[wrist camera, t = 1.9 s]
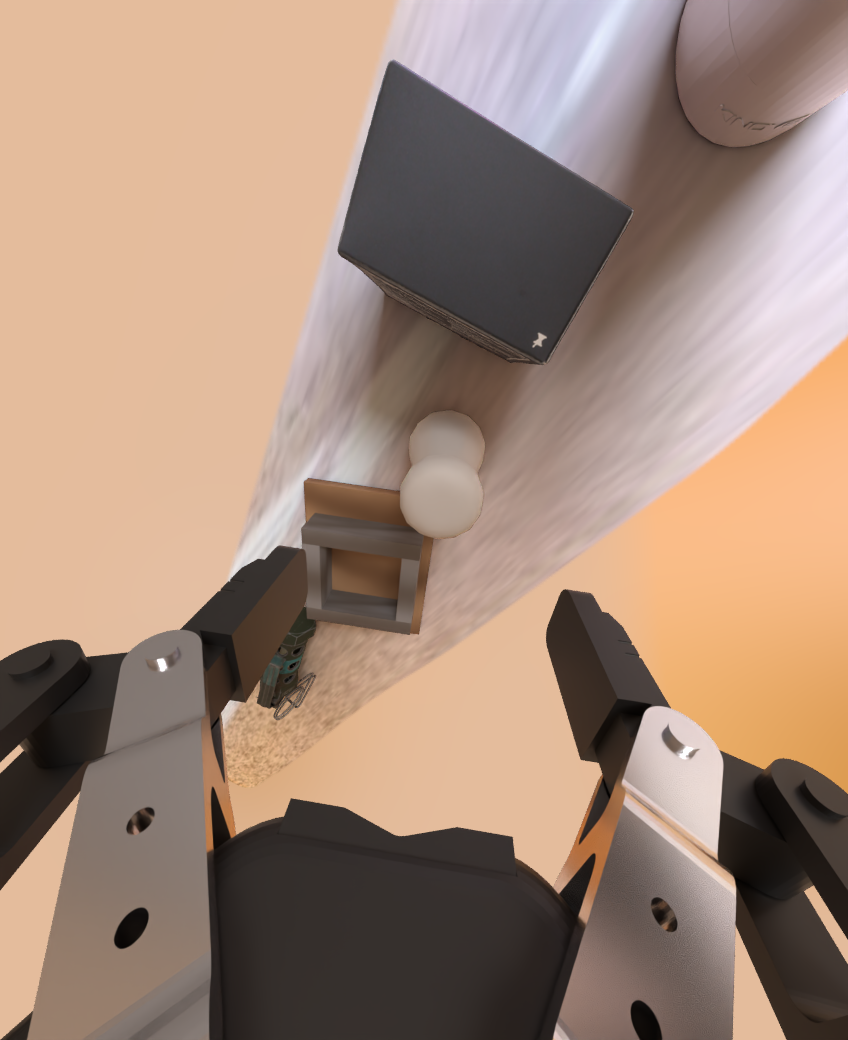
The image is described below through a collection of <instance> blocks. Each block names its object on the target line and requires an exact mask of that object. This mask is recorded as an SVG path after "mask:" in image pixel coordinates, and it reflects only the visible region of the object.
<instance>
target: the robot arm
mask: <svg viewBox="0 0 848 1040" xmlns="http://www.w3.org/2000/svg"><path fill="white" fill-rule="evenodd" d="M676 82H677V88H678V94H679V100H680V102H681V105H682V107H683V110H684V112H685V115H686V117H687V119H688V120H689V122H690V123H691V124H692V125H693V127H694V128H695V129H696V131H697V132H698V133H699V134H701V135H702V136H704V137H705V138H707V139H708V140H710V141H711V142H713V143H716V144H720V145H724V146H727V147H743V146H751V145H754V144H758V143H761V142H765V141H768V140H770V139H772V138H774V137H776V136H778V135H780V134H782V133H784V132H786V131H788V130H789V129H791V128H792V127H794V126H795V125H797V124H798V123H800V122H801V121H803V120H804V119H806V118H807V117H809V116H810V115H812V114H813V113H815V112H816V111H818V110H819V109H821V108H822V107H824V106H825V105H827V104H828V103H830V102H831V101H833V100H834V99H836V98H837V97H839V96H840V95H842V94H843V93H845V92H846V91H848V0H687V2H686V6H685V9H684V12H683V15H682V19H681V23H680V29H679V35H678V41H677V47H676ZM307 594H308V578H307V561H306V552H305V550H304V549H299V548H293V547H286V546H277V547H276V548H275V549H274V550H273V551H272V552H271V554H270V555H269V556H268V557H267V558H266V559H265V560H263V559H257V560H255V561H254V562H252V563H250V564H248V565H246V566H244V567H242V568H241V569H240V570H239V571H238V572H237V573H236V574H235V575H234V576H233V577H232V578H231V580H230V582H229V581H228V582H227V583H226V584H225V585H224V586H223V587H222V589H221V591H219V592H217V593H216V594H215V595H214V596H213V597H212V598H211V599H210V600H209V601H208V602H207V603H206V604H205V605H204V606H203V607H202V608H201V609H200V610H199V611H198V612H197V613H196V614H195V615H194V616H193V617H192V618H191V619H190V620H189V621H188V622H187V623H186V624H185V625H184V626H183V627H182V628H181V629H180V630H172V631H167V632H163V633H160V634H157V635H154V636H152V637H150V638H148V639H146V640H144V641H143V642H141V643H139V644H138V645H137V646H135V647H134V648H133V649H132V650H131V651H130V652H128V653H120V654H110V655H100V656H91V657H86V656H85V654H84V653H83V650H82V649H81V647H80V645H79V644H78V643H76V642H74V641H71V640H52V641H46V642H42V643H38V644H35V645H32V646H29V647H27V648H24V649H22V650H19V651H17V652H15V653H13V654H11V655H9V656H8V657H6V658H4V659H3V660H1V661H0V762H1V761H2V760H3V759H4V758H5V757H6V756H7V755H8V754H9V753H10V752H12V750H14V749H15V748H16V747H17V746H18V745H20V746H21V747H22V748H23V750H24V751H23V752H22V753H21V754H20V755H19V756H18V757H17V758H16V759H15V760H14V761H13V762H12V763H11V764H10V765H9V766H8V767H7V768H6V769H5V770H3V772H1V773H0V890H1V889H2V888H3V886H4V885H5V884H6V883H7V881H8V880H9V879H10V878H11V877H12V875H13V874H14V873H15V872H16V870H17V869H18V868H19V866H20V865H21V864H22V863H23V862H24V860H25V859H26V858H27V857H28V855H29V854H30V853H31V852H32V850H33V849H34V848H35V847H36V845H37V844H38V843H39V842H40V840H41V839H42V838H43V837H44V835H45V834H46V833H47V832H48V830H49V829H50V828H51V827H52V825H53V824H54V823H55V822H56V821H57V819H58V818H59V817H60V815H61V814H62V813H63V812H64V811H65V809H66V808H67V807H68V806H69V804H70V803H71V802H72V801H73V799H74V798H75V797H76V796H77V794H78V793H79V792H80V796H79V800H78V805H77V810H76V814H75V819H74V824H73V829H72V833H71V838H70V842H69V847H68V852H67V856H66V862H65V865H64V870H63V875H62V879H61V884H60V889H59V894H58V898H57V903H56V907H55V912H54V917H53V921H52V926H51V931H50V935H49V940H48V945H47V949H46V954H45V958H44V963H43V968H42V973H41V977H40V982H39V986H38V991H37V996H36V1001H35V1005H34V1010H33V1011H32V1012H31V1013H30V1014H29V1015H28V1016H27V1017H26V1018H24V1019H23V1020H22V1021H21V1022H20V1023H19V1024H18V1025H17V1026H15V1027H14V1028H13V1029H12V1030H11V1031H10V1032H9V1033H8V1034H6V1035H5V1036H4V1037H3V1038H2V1039H1V1040H732V1037H733V1000H734V999H733V998H734V961H735V960H734V959H735V958H734V957H735V925H736V927H737V929H738V931H739V934H740V936H741V938H742V940H743V943H744V945H745V947H746V949H747V952H748V954H749V956H750V958H751V961H752V963H753V965H754V967H755V970H756V972H757V974H758V976H759V979H760V981H761V983H762V985H763V988H764V990H765V992H766V994H767V997H768V999H769V1001H770V1003H771V1006H772V1008H773V1010H774V1012H775V1015H776V1017H777V1019H778V1021H779V1024H780V1026H781V1028H782V1030H783V1033H784V1035H785V1037H786V1039H787V1040H848V964H847V962H846V961H845V959H844V957H843V956H842V954H841V952H840V951H839V949H838V947H837V946H836V944H835V943H834V941H833V939H832V937H831V936H830V934H829V932H828V931H827V929H826V927H825V926H824V924H823V922H822V921H821V919H820V917H819V916H818V914H817V913H816V911H815V909H814V907H813V906H812V904H811V902H810V901H809V899H808V897H807V896H806V894H805V892H804V891H805V890H806V889H808V888H810V887H811V886H813V885H814V886H815V888H816V890H817V891H818V893H819V894H820V896H821V898H822V899H823V901H824V902H825V904H826V906H827V907H828V909H829V910H830V912H831V914H832V915H833V917H834V918H835V920H836V922H837V923H838V925H839V926H840V928H841V929H842V931H843V933H844V934H845V936H846V938H847V939H848V794H847V793H846V792H845V791H844V790H842V789H841V788H840V787H839V786H838V785H836V784H835V783H834V782H832V781H831V780H830V779H828V778H827V777H825V776H824V775H823V774H821V773H819V772H818V771H816V770H814V769H813V768H811V767H809V766H807V765H805V764H802V763H800V762H797V761H794V760H791V759H784V758H783V759H777V760H775V761H774V762H773V763H771V764H770V765H769V766H768V767H767V768H766V769H765V770H764V769H761V768H759V767H756V766H754V765H752V764H750V763H747V762H745V761H743V760H741V759H738V758H736V757H734V756H731V755H729V754H727V753H724V752H722V751H720V750H719V749H718V747H717V746H716V744H715V742H714V741H713V740H712V739H711V737H710V736H709V735H708V734H707V733H706V732H705V731H704V730H703V729H702V728H701V727H700V726H699V725H698V724H697V723H695V722H694V721H693V720H691V719H690V718H688V717H687V716H685V715H683V714H682V713H680V712H678V711H675V710H673V709H671V707H670V706H669V704H668V702H667V701H666V699H665V697H664V696H663V694H662V692H661V691H660V689H659V687H658V686H657V684H656V682H655V680H654V679H653V677H652V675H651V674H650V672H649V670H648V669H647V667H646V665H645V664H644V662H643V660H642V659H641V658H639V654H638V652H637V650H636V649H635V647H634V645H632V642H631V640H630V638H629V637H628V635H627V633H626V632H625V630H624V628H623V627H622V626H621V625H620V624H619V623H618V622H617V621H616V620H615V619H614V618H613V617H612V616H611V615H610V614H609V613H605V612H602V611H601V609H600V607H599V605H598V604H597V602H596V600H595V598H594V596H593V595H592V594H591V593H585V592H579V591H572V590H566V589H565V590H563V591H562V592H561V594H560V596H559V598H558V601H557V604H556V606H555V609H554V611H553V614H552V617H551V619H550V622H549V624H548V627H547V632H546V643H547V648H548V652H549V655H550V658H551V662H552V665H553V668H554V672H555V675H556V678H557V682H558V685H559V689H560V692H561V695H562V699H563V702H564V705H565V708H566V712H567V715H568V719H569V722H570V725H571V729H572V732H573V736H574V739H575V742H576V746H577V749H578V752H579V756H580V759H581V760H585V761H591V762H597V763H599V765H600V768H601V770H602V776H601V777H600V779H599V780H598V783H597V786H596V788H595V790H594V793H593V796H592V798H591V801H590V804H589V806H588V809H587V811H586V814H585V817H584V819H583V822H582V824H581V827H580V830H579V832H578V835H577V837H576V840H575V842H574V845H573V848H572V850H571V852H570V854H569V857H568V859H567V861H566V862H565V864H564V866H563V868H562V870H561V872H560V874H559V876H558V878H557V880H556V882H555V884H554V887H552V886H551V885H550V884H549V883H548V882H547V881H546V880H545V879H544V878H543V877H541V876H540V875H539V874H538V873H537V872H536V871H534V870H533V869H532V868H530V867H529V866H528V865H526V864H524V863H523V862H522V861H520V860H518V859H516V858H515V856H514V846H513V837H510V836H504V835H499V834H492V833H487V832H481V831H475V830H469V829H464V828H458V827H456V828H450V829H445V830H439V831H433V832H427V833H421V834H415V835H409V836H396V835H393V834H391V833H390V832H388V831H386V830H384V829H382V828H380V827H379V826H377V825H375V824H373V823H371V822H369V821H368V820H366V819H364V818H362V817H361V816H359V815H357V814H355V813H353V812H352V811H350V810H348V809H346V808H343V807H338V806H332V805H326V804H320V803H314V802H309V801H303V800H297V799H291V800H290V803H289V805H288V808H287V811H286V813H285V816H284V817H279V818H275V819H271V820H268V821H265V822H262V823H259V824H257V825H255V826H253V827H250V828H248V829H246V830H244V831H243V832H241V833H239V834H237V835H236V831H235V824H234V817H233V811H232V806H231V801H230V794H229V786H228V776H227V766H226V755H225V745H224V734H223V724H222V716H221V712H222V711H223V709H224V708H225V706H226V705H227V703H228V702H229V700H233V701H239V702H245V703H246V701H247V700H248V698H249V696H250V695H251V693H252V691H253V690H254V688H255V686H256V685H257V683H258V681H259V680H260V678H261V676H262V675H263V673H264V672H265V670H266V668H267V667H268V665H269V663H270V662H271V660H272V658H273V657H274V655H275V653H276V652H277V650H278V648H279V647H280V645H281V643H282V642H283V640H284V639H285V637H286V635H287V634H288V632H289V630H290V629H291V627H292V625H293V624H294V622H295V620H296V619H297V617H298V615H299V614H300V612H301V610H302V609H303V607H304V605H305V602H306V599H307Z"/></svg>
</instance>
